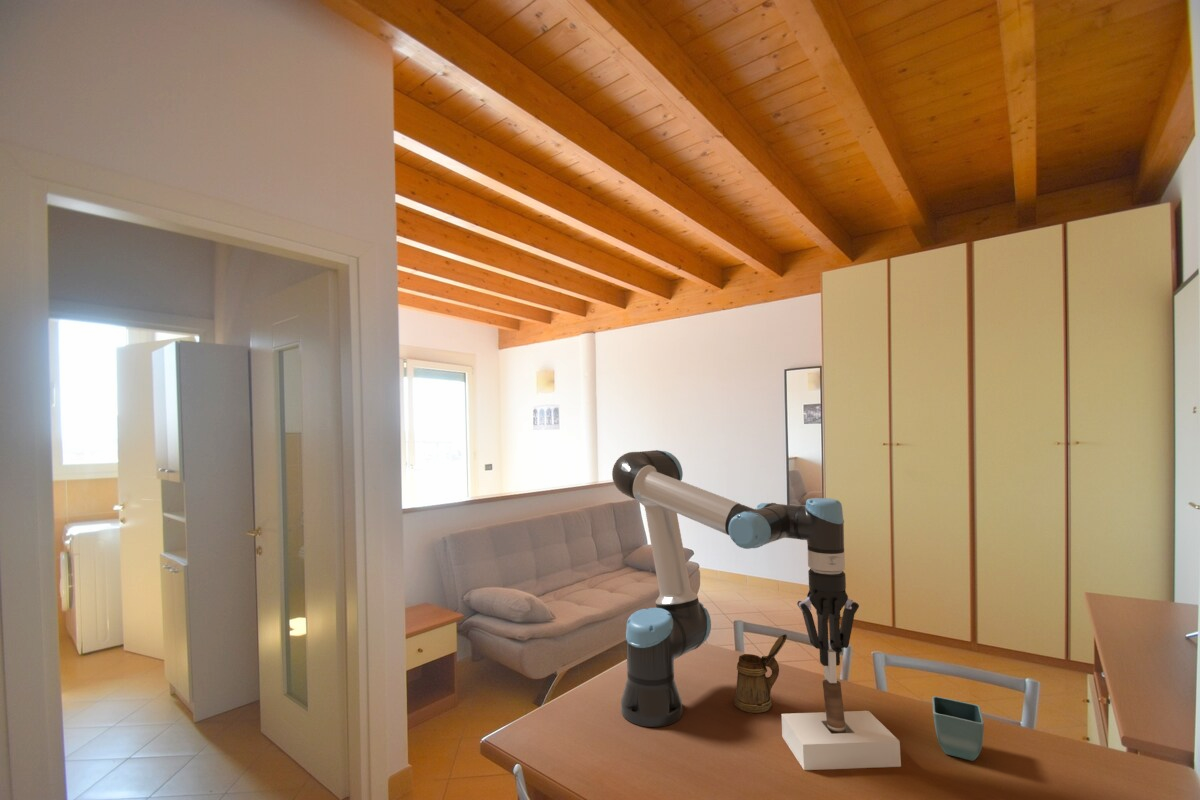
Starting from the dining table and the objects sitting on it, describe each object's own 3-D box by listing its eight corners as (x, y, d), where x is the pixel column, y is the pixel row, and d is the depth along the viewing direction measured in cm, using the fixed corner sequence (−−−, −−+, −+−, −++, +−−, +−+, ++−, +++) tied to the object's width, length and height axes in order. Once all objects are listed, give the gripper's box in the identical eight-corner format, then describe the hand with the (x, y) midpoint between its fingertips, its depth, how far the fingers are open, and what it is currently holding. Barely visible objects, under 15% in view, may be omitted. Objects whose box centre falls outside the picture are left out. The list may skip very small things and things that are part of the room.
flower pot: (982, 747, 114) (979, 704, 115) (987, 770, 107) (984, 723, 107) (934, 736, 119) (931, 695, 119) (935, 757, 111) (932, 713, 112)
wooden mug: (791, 718, 127) (787, 641, 129) (733, 710, 132) (730, 635, 133) (789, 700, 136) (786, 628, 137) (735, 693, 140) (732, 623, 141)
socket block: (782, 736, 120) (781, 713, 120) (869, 733, 120) (868, 710, 121) (804, 770, 108) (802, 744, 108) (901, 766, 108) (899, 741, 109)
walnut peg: (826, 746, 116) (819, 679, 117) (843, 745, 116) (835, 678, 117) (834, 756, 112) (827, 687, 113) (851, 754, 112) (843, 685, 114)
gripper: (804, 575, 113) (808, 689, 112) (864, 573, 113) (869, 687, 112) (790, 566, 120) (794, 673, 119) (847, 565, 121) (851, 671, 119)
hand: (830, 680), depth 116 cm, fingers closed
